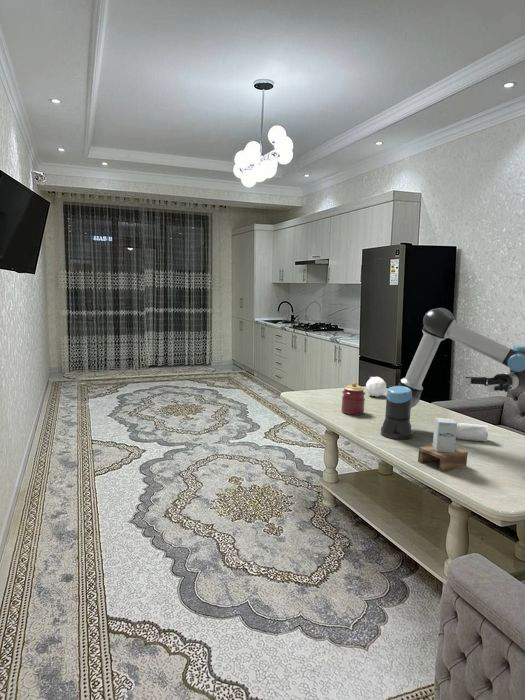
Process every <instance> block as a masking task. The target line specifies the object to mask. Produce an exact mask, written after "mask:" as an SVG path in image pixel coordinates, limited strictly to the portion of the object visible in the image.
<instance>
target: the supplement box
mask: <svg viewBox="0 0 525 700" xmlns="http://www.w3.org/2000/svg"><path fill="white" fill-rule="evenodd" d="M456 429H457V422H456V420H455V419H453V418H443V417H434V426H433V438H432V445H433V447H434V449H435V451H436V452H450V453H454V451H455V448H456V439H457V438H456Z"/></svg>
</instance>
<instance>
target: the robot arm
mask: <svg viewBox="0 0 525 700" xmlns="http://www.w3.org/2000/svg"><path fill="white" fill-rule="evenodd" d="M422 323H423V324H422V325H423V327H422V330H421V331H422V333H423V335H422V337H421V340H420V342H419V345H418V347H417V349H416V351H415V354H414V356H413V357H412V358H413V359H412V361H411V363H410V365H409V368H408V370H407V372H406V375H405V377H402V378H401V379H400V380H399V383H398V385H395V386H390V387H388V388H387V389H386V392H387V393H386V394H385V395H386V399H385V400H386V402H385V416H384V417H385V418H384V420H383V423H382V427H380V435H381V436H383V437H385V438H388V439H393V440H409V439H412V438H413V433H414V432H413V430H412V425H411V412H412V411H411V410H412V408H414V407H416V405H418V403H419V402H420V400H421V395H422V392H423V390H424V387H423V385H422V384H423V382H424V379H425V378H426V375H427V373H428V370H429V369H430V366H431V364H432V361H433V359H434V357H435V355H436V353H437V350H438V348H439V345H440V344H441V342H442V341H445V340H446V339H450V340H452V341H454V342H457V343H459V344H460V345H463V346H464V347H467V348H469V349H471V350H473V351H475V352H477V353H480V355H483V356H486V357H487V358H490V359H491V360H494V361H496V362H498V363H500V364H502V365H504V366H506V367H507V368H509V372H505V373H504V372H503V373H497V374H495V375H494V376H493V377H486V376H482V377H481V376H480V377H479V376H465V378H460V379H459V386H466V385H467V386H470V385H482V386H485V387H487V391H486V392H487V393H493V392H499V391H500V392H503V391H504V392H506V393H507V392H509V391H510V390H517V389H519V390H521V389H524V388H525V345H513V346H512V347H511V348H510V347H508V346H506V345H504V344H503V343H500V342H498V341H495V340H494V339H491V338H489V337H487V336H485V335H483V334H481V333H478V332H477V331H474V330H473V329H470V328H468V327H466V326H464V325H461V324H459V323H457V321H456V319H455V317H454V315H453V313H452V312H451V311H450V310H449V309H447V308H444V307H438V308H437V307H436V308H432V309H430V310H428V311H427V312H425V315H424V316H423V320H422Z"/></svg>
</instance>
